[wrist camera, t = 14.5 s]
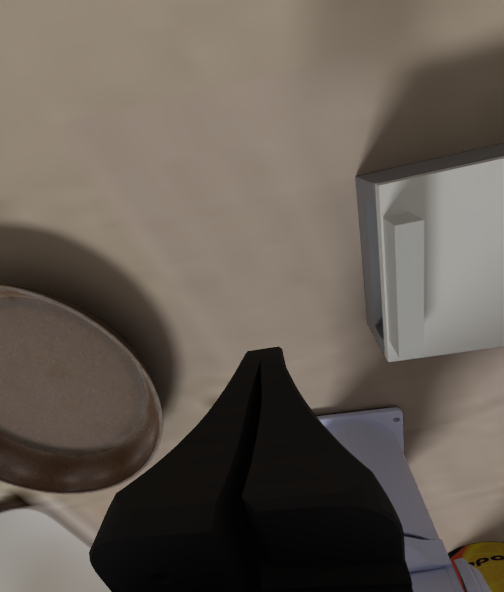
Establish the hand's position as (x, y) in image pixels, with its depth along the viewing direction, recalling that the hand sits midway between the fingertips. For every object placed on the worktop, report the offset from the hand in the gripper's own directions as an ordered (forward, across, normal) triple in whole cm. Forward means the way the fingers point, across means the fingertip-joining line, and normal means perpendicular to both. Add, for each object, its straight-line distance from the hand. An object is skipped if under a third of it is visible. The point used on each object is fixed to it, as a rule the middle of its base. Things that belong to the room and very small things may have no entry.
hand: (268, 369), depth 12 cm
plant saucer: (+10, +20, +6) cm, 23 cm away
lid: (+6, -11, 0) cm, 12 cm away
